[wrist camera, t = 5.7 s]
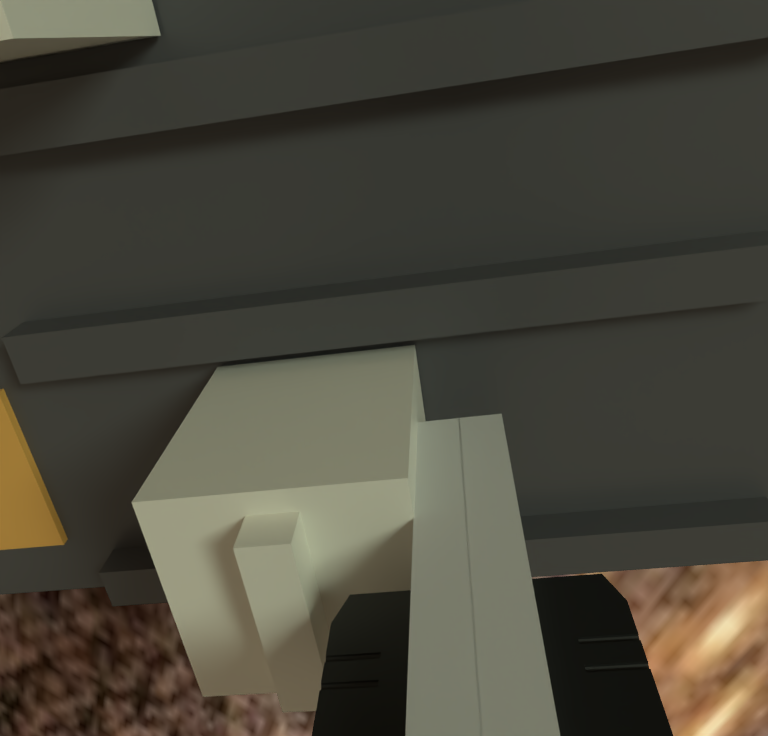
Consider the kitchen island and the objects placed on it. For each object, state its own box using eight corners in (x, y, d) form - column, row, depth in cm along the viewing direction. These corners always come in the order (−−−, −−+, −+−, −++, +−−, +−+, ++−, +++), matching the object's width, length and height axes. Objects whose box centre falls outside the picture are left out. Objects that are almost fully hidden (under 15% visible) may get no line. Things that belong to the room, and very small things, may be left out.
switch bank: (-330, -241, 12) (-533, -313, 9) (1624, -714, 9) (2110, -1015, 6) (28, 542, 19) (-33, 619, 17) (1173, 446, 16) (1313, 525, 13)
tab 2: (217, 367, 14) (111, 533, 9) (414, 344, 14) (406, 509, 9) (261, 525, 16) (189, 734, 11) (438, 511, 15) (442, 722, 11)
